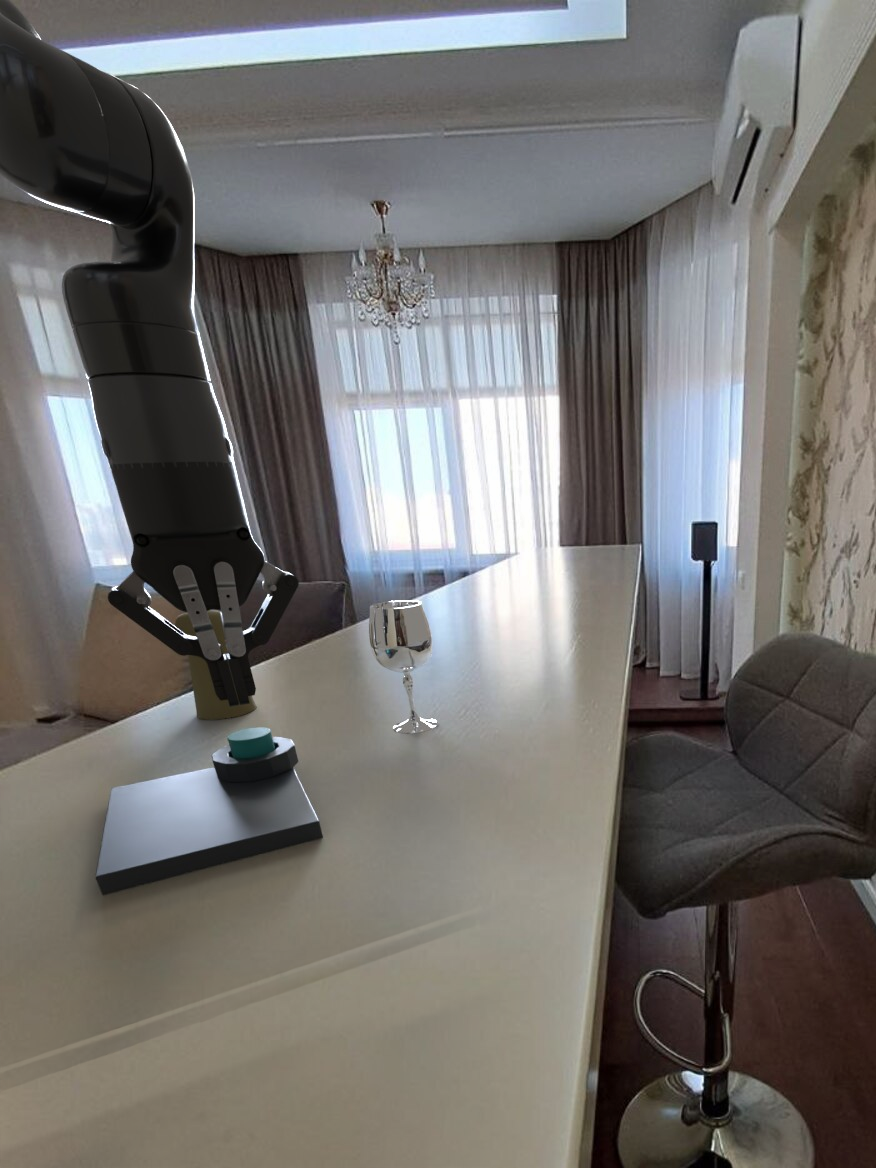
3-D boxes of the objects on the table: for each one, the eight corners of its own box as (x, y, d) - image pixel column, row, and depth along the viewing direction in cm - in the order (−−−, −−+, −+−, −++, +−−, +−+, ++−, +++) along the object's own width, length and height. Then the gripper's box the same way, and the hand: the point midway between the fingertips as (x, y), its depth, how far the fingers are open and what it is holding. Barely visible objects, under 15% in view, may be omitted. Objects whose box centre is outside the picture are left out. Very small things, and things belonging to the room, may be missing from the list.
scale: (331, 836, 48) (322, 797, 46) (102, 896, 42) (84, 854, 40) (295, 763, 61) (287, 731, 59) (117, 801, 55) (104, 766, 53)
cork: (227, 721, 73) (197, 616, 68) (184, 717, 75) (152, 615, 70) (268, 704, 78) (243, 606, 73) (227, 701, 80) (200, 605, 75)
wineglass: (423, 738, 65) (403, 610, 60) (374, 733, 67) (350, 609, 62) (455, 719, 70) (438, 600, 65) (408, 715, 72) (388, 599, 67)
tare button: (278, 755, 55) (272, 735, 54) (234, 764, 54) (228, 743, 53) (273, 744, 58) (267, 724, 57) (231, 752, 56) (225, 732, 56)
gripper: (270, 459, 52) (317, 679, 60) (61, 463, 46) (143, 706, 54) (283, 455, 46) (334, 699, 54) (46, 458, 41) (140, 732, 48)
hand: (238, 702), depth 54 cm, fingers closed
